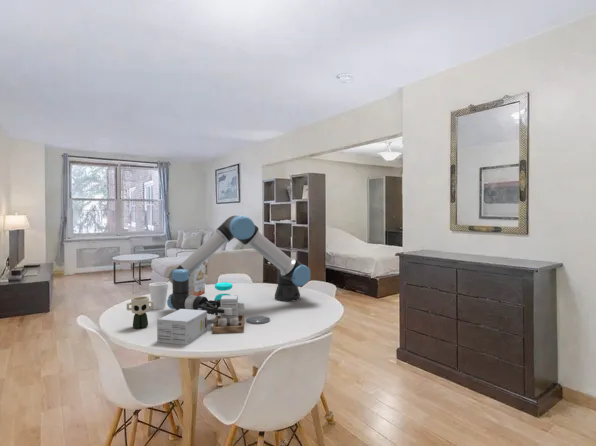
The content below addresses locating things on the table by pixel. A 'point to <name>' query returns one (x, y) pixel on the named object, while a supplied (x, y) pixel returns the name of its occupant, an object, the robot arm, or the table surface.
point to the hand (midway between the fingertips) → (237, 308)
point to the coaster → (258, 319)
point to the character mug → (140, 310)
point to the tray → (228, 325)
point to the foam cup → (158, 294)
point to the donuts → (222, 288)
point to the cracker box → (197, 281)
